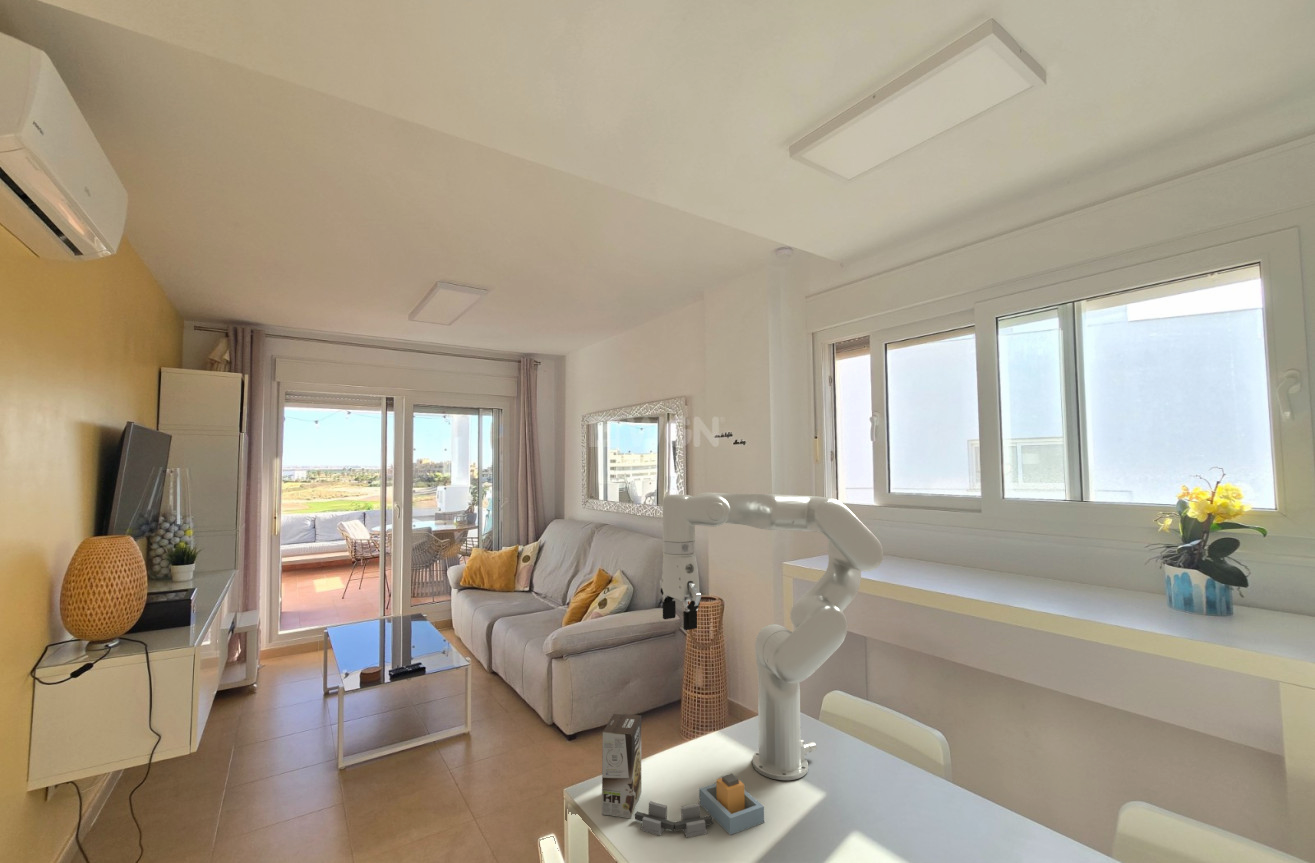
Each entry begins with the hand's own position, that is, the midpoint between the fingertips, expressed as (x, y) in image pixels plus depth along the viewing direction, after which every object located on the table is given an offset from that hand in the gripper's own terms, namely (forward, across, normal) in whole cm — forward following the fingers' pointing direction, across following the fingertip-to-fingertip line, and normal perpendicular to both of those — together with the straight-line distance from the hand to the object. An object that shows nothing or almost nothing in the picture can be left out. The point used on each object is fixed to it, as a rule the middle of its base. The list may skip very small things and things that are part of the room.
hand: (679, 623), depth 127 cm
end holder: (+33, -17, -2) cm, 37 cm away
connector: (+33, -17, -2) cm, 38 cm away
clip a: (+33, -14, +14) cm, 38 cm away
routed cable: (+33, -15, +10) cm, 37 cm away
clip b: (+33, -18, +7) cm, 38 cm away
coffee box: (+34, -4, +16) cm, 37 cm away
